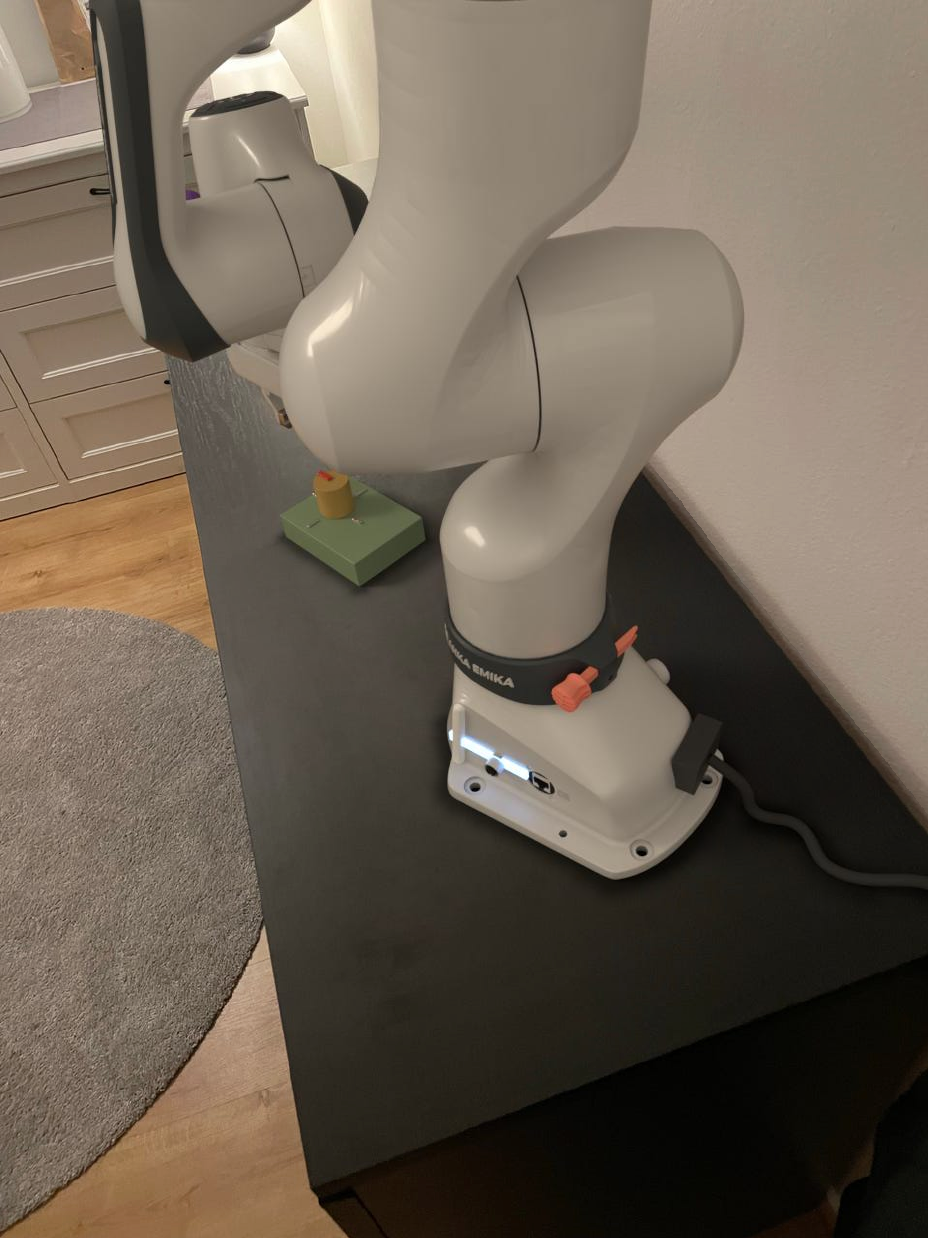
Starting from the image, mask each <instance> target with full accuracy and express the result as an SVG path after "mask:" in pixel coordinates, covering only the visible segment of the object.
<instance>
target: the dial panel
mask: <svg viewBox="0 0 928 1238" xmlns="http://www.w3.org/2000/svg"><path fill="white" fill-rule="evenodd" d="M348 478H349V482H350V486H351V491H352V495H353V500H354V504H355V507H354V509H353V511H352V512H351V513H350V514H349V515H347V516H345V517H342V518H339V519H329V518H326V517H324V516H322V515H321V513H320V510H319V506H318V502H317V499H316V495H315V491H313V493H311V495H309V496H307V497H306V498H304V499H303V500H301V501H300V502H298V503H297V504H295V505H293V506H292V507H290V508H288V509H287V510H286V511H284V512H282V513H280V514H279V517H280V522H281V524H282V528H283V530H284V535H285V537H286V538H287V539H288V540H290V541H292V542H293V543H294V544H295V545H297V546H299V547H300V548H302V549H303V550H305V551H307V552H308V553H309V554H310V555H312V556H314V558H316V559H318V560H320V562H323V563H324V564H326V565H327V566H329V567H330V568H331V569H333V570H334V571H336V572H337V573H339V574H340V575H342V576H343V577H344V578H346V579H347V580H349V581H351V582H352V583H353V584H355V585H356V586H357V587H361V586H363V585H364V584H366V583H367V582H368V581H370V580H371V579H372V578H374V577H376V576H377V575H379V574H380V573H382V572H383V571H384V570H386V569H387V568H388V567H390V566H391V565H392V564H394V563H395V562H397V561H398V560H400V559H402V557H404V556H405V555H407V554H408V553H409V552H411V551H412V550H413V549H415V548H416V547H418V546H420V544H422V543H423V542H425V541H426V540H427V539H426V534H425V527H424V519H423V517H422V516H420V515H419V514H417V513H415V512H414V511H412V510H410V509H408V508H407V507H405V506H403V505H402V504H400V503H398V502H396V501H394V500H393V499H391V498H389V497H388V496H386V495H384V494H382V493H380V492H379V491H378V490H376V489H374V488H372V487H370V486H368V485H367V484H365V483H363V482H362V481H360V480H358V479H356V478H355V477H353V476H352V475H348Z"/></svg>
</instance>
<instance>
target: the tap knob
mask: <svg viewBox="0 0 928 1238" xmlns="http://www.w3.org/2000/svg"><path fill="white" fill-rule="evenodd" d="M316 474H317V475H316V476H315V477H314V478H313V480H312V487H313V490H314V491H313V492H315V495H316V499H317V502H318V506H319V510H320V513H321V515H322V516H324V517H326V518H329V519H339V518H342V517H345V516H347V515H349V514H350V513H351V512H352V511H353V509H354V507H355V504H354V500H353V495H352V491H351V486H350V482H349V478H348V475H341V474H339V473H337V472H336V471H334V470H332V469H328V470H325V471H323V470H319V471H318V472H316Z"/></svg>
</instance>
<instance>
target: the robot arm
mask: <svg viewBox="0 0 928 1238" xmlns="http://www.w3.org/2000/svg"><path fill="white" fill-rule="evenodd" d="M312 1H313V0H88V14H89V15H88V16H89V27H90V36H91V48H92V56H93V57H92V58H93V68H94V77H95V85H96V91H97V94H96V95H97V101H98V109H99V117H100V118H99V119H100V125H101V134H102V140H103V141H102V142H103V149H104V157H105V164H106V165H105V166H106V173H107V181H108V186H109V187H108V190H109V197H110V206H111V207H110V208H111V238H112V250H113V254H112V256H113V257H112V259H113V260H112V264H113V276H114V282H115V287H116V291H117V294H118V297H119V300H120V303H121V305H122V307H123V311H124V312H125V314H126V317H127V319H128V320H129V322H130V324H131V326H132V327H133V328H134V330H135V331H136V333H137V334H138V335H139V336H140V338H141V340H142V341H143V343H145V344H146V345H148V346H149V347H152V348H154V349H156V350H157V351H159V352H162V353H164V354H165V355H166V354H167V355H169V356H171V357H173V358H176V359H180V360H182V361H186V362H189V363H196V362H199V361H201V360H203V359H205V358H207V357H210V356H212V355H215V354H217V353H220V352H222V351H224V350H225V351H226V355H227V358H228V361H229V364H230V366H231V367H232V369H233V370H234V372H235V373H236V374H237V375H238V376H239V377H242V378H244V379H245V380H246V381H249V382H250V383H253V384H254V385H256V386H258V387H259V388H260V391H261V394H262V395H263V396H264V398H265V400H266V401H267V402H268V404H269V406H270V407H271V409H272V410H273V412H274V415H275V419H276V422H277V424H278V425H280V426H282V427H284V428H286V429H288V430H290V429H292V428H293V430H294V432H295V433H296V435H297V436H298V438H299V439H300V441H301V442H302V443H303V445H304V446H305V447H306V448H307V450H309V452H310V453H311V454H312V455H314V456H315V458H317V460H319V462H321V463H322V464H324V465H325V466H326V467H328V468H329V469H330V470H334V471H336V472H337V473H339V474H341V475H349V476H398V475H399V476H401V475H402V476H403V475H405V476H406V475H424V474H429V473H433V472H438V471H443V470H448V469H453V468H457V467H462V466H468V465H471V464H472V465H473V464H477V463H482V462H485V463H483V464H482V465H481V466H480V467H478V468H477V469H476V470H475V471H474V472H472V473H471V474H470V475H469V476H468V477H467V478H465V479H464V481H463V482H462V483H461V484H460V485H459V486H458V487H457V489H456V490H455V492H454V493H453V494H452V497H451V499H450V500H449V502H448V505H447V507H446V509H445V511H444V514H443V517H442V521H441V525H440V528H439V529H440V530H439V543H440V550H441V557H442V563H443V570H444V577H445V585H446V592H447V594H446V599H445V602H444V620H445V622H444V632H445V638H446V640H447V641H446V642H447V644H448V649H449V653H450V656H451V658H452V660H453V663H454V669H453V680H452V681H453V683H452V699H451V701H452V702H451V706H450V709H449V712H448V716H447V723H446V735H447V741H448V745H449V749H450V754H451V760H450V763H449V767H448V773H447V790H448V793H449V795H450V796H451V797H452V798H454V799H455V800H457V801H459V802H461V803H463V804H465V805H466V806H469V807H471V808H472V809H474V810H476V811H478V812H480V813H482V814H484V815H486V816H487V817H490V818H491V819H493V820H495V821H497V822H499V823H501V824H503V825H504V826H507V827H509V828H511V829H512V830H515V831H516V832H519V833H520V834H522V835H524V836H526V837H528V838H530V839H532V840H533V841H535V842H537V843H540V844H542V845H544V846H545V847H547V848H549V849H551V850H553V851H555V852H556V853H559V854H561V855H562V856H564V857H566V858H569V859H570V860H572V861H574V862H576V863H578V864H580V865H582V866H583V867H586V868H587V869H590V870H591V871H593V872H594V873H598V874H599V875H601V876H603V877H606V878H608V879H610V880H621V879H626V878H630V877H632V876H636V875H639V874H641V873H643V872H645V871H647V870H649V869H651V868H653V867H654V866H657V865H658V864H659V863H661V862H662V861H664V860H665V859H667V858H668V857H669V856H670V855H672V854H673V853H674V852H675V851H676V850H678V848H680V847H681V846H682V845H683V844H684V843H685V841H686V840H688V839H689V837H690V836H691V835H692V834H693V833H694V831H696V830H697V829H698V827H699V826H700V825H701V823H702V822H703V821H704V820H705V818H706V817H707V815H708V814H709V812H710V810H712V807H713V806H714V804H715V802H716V800H717V798H718V796H719V793H720V790H721V787H722V783H723V779H724V778H726V779H727V780H728V781H729V782H730V783H732V785H734V786H735V788H736V789H737V790H738V791H739V792H740V795H741V798H742V799H741V800H742V804H743V807H744V810H745V811H746V813H747V814H748V815H749V816H750V817H751V818H753V819H754V820H757V821H758V822H762V823H765V824H769V825H777V826H783V827H787V828H789V829H791V830H794V831H795V832H796V833H798V835H799V836H800V837H801V839H802V840H803V842H804V843H805V846H806V848H807V850H808V852H809V854H810V855H811V857H812V859H813V861H814V862H815V863H816V865H817V866H818V867H819V868H820V869H821V870H822V871H824V872H825V873H827V874H828V875H830V876H832V877H834V878H836V879H838V880H841V881H843V882H846V883H849V884H853V885H854V884H855V885H859V886H867V887H903V888H904V887H905V888H918V889H922V890H926V891H928V876H926V875H921V874H914V873H873V872H872V873H870V872H860V871H856V870H852V869H848V868H846V867H842V866H841V865H839V864H836V863H835V862H833V861H832V860H830V858H829V857H827V856H826V854H825V853H824V850H823V849H822V847H821V845H820V843H819V841H818V839H817V837H816V835H815V833H814V832H813V831H812V830H811V828H810V827H809V826H808V825H807V824H806V823H805V822H803V821H802V820H801V819H799V818H798V817H795V816H793V815H789V814H787V813H786V814H785V813H780V812H773V811H768V810H764V809H762V808H760V806H758V805H757V803H756V800H755V793H754V791H753V788H752V785H751V784H750V783H749V782H748V781H747V779H746V778H745V777H744V776H743V775H742V774H741V773H739V772H738V770H736V769H735V768H733V767H732V766H731V765H729V764H728V763H727V762H726V761H724V756H723V753H722V752H721V751H720V750H719V745H720V739H721V735H722V729H723V721H721V720H718V719H716V718H713V717H710V716H707V715H705V714H702V713H700V712H698V713H697V714H696V716H695V718H694V720H693V719H692V716H691V714H690V712H689V710H688V708H687V707H686V706H685V705H684V703H683V702H682V701H681V699H679V698H678V697H677V695H676V694H675V693H674V692H673V691H672V690H671V689H670V687H669V686H668V684H669V682H670V679H671V676H670V672H669V670H668V669H667V666H666V665H665V664H664V663H663V661H660V660H659V659H657V658H650V659H648V660H645V659H644V658H643V657H642V655H641V654H640V653H639V652H638V651H637V650H636V649H635V648H634V647H633V646H632V645H633V643H634V642H635V641H636V639H637V637H638V633H636V632H637V631H638V629H639V627H638V625H634V626H632V627H631V628H630V629H629V630H628V631H627V632H626V633H625V634H624V630H623V628H622V624H621V621H620V619H619V616H618V613H617V610H616V607H615V604H614V602H613V601H614V600H613V599H612V595H611V593H610V592H609V589H608V587H607V581H608V580H607V578H608V565H609V555H610V548H611V540H612V534H613V529H614V525H615V521H616V519H617V515H618V514H619V510H620V507H621V506H622V504H623V502H624V500H625V498H626V496H627V494H628V492H629V490H630V489H631V487H632V485H633V484H634V482H635V481H636V479H637V478H638V476H639V475H640V473H641V471H642V470H643V468H644V467H645V466H646V465H647V463H648V462H649V460H650V459H651V458H652V456H653V455H654V454H655V452H657V450H658V449H659V448H660V446H662V444H663V443H664V442H665V441H666V439H667V438H669V436H670V435H671V434H672V433H673V432H674V431H676V430H677V429H678V428H679V427H680V426H681V425H682V424H683V423H684V422H685V421H686V420H688V418H690V417H691V416H693V414H694V413H696V412H697V411H698V410H700V409H702V408H703V407H704V406H705V405H707V404H708V403H709V402H711V401H712V400H713V399H715V398H716V397H717V396H718V395H719V394H720V393H721V391H722V390H723V388H724V387H725V385H726V384H727V382H728V381H729V379H730V377H731V375H732V373H733V371H734V369H735V367H736V365H737V362H738V359H739V356H740V352H741V349H742V345H743V341H744V340H743V339H744V334H745V305H744V299H743V295H742V290H741V287H740V284H739V280H738V278H737V275H736V273H735V271H734V269H733V267H732V265H731V263H730V262H729V260H728V258H727V257H726V256H725V254H724V253H723V252H722V251H721V249H720V248H719V246H717V244H715V242H714V241H713V240H711V239H710V238H709V237H708V236H707V235H706V234H704V233H703V232H701V231H700V230H698V229H694V228H681V227H679V228H678V227H665V226H664V227H661V226H625V225H624V226H619V225H618V226H617V225H614V226H607V227H603V228H602V227H601V228H597V229H593V230H587V231H582V232H576V233H570V234H566V235H559V236H555V237H550V236H552V235H553V234H554V233H555V232H556V231H558V230H559V229H560V228H562V227H563V226H564V225H565V224H567V223H568V222H569V221H571V220H572V219H573V218H575V217H576V216H577V215H579V214H580V213H581V212H582V211H584V210H585V209H586V208H587V207H588V206H590V205H591V204H592V203H593V202H594V201H595V200H596V199H597V198H598V197H599V196H600V195H602V193H604V192H605V191H606V189H607V188H608V186H609V185H610V184H611V183H612V182H613V180H614V179H615V177H616V176H617V174H618V173H619V172H620V170H621V169H622V166H623V164H624V162H625V161H626V158H627V156H628V154H629V152H630V150H631V147H632V145H633V142H634V140H635V138H636V135H637V132H638V129H639V123H640V117H641V110H642V109H641V108H642V98H643V90H644V89H643V88H644V81H645V72H646V65H647V64H646V62H647V55H648V45H649V36H650V27H651V17H652V9H653V0H370V7H371V17H372V27H373V28H372V29H373V39H374V50H375V52H374V53H375V63H376V65H375V66H376V82H377V99H378V101H377V104H378V129H379V131H378V133H379V135H378V136H379V137H378V143H379V144H378V154H377V155H378V158H377V164H376V165H377V166H376V171H375V176H374V181H373V185H372V188H371V193H370V197H369V198H368V196H367V194H366V193H365V191H364V190H363V189H362V188H361V186H359V185H357V184H356V183H355V182H353V181H352V180H350V179H348V178H347V177H346V176H343V175H342V174H340V173H338V172H337V171H335V170H333V169H331V168H330V167H327V166H325V165H323V164H319V163H318V161H317V160H316V159H315V157H314V156H313V154H312V153H311V151H310V150H309V148H308V146H307V144H306V143H305V140H304V137H303V134H302V131H301V128H300V125H299V122H298V120H297V116H296V113H295V111H294V108H293V104H292V103H291V101H290V100H289V98H288V97H287V96H286V95H284V94H282V93H279V92H277V91H275V90H256V91H253V92H248V93H245V92H244V93H240V94H237V95H231V96H227V97H224V98H221V99H216V100H215V99H214V100H212V101H211V102H206V103H204V104H202V105H200V106H199V107H197V108H196V109H194V112H192V113H191V114H190V116H189V117H188V122H187V123H188V135H189V136H188V137H189V143H190V149H191V155H192V156H191V157H192V162H193V167H194V168H193V169H194V173H195V178H196V183H197V189H198V193H199V194H200V197H201V198H197V199H193V200H186V196H185V190H186V177H185V176H186V175H185V158H184V157H185V154H184V137H183V136H184V135H183V134H184V133H183V127H184V126H183V125H184V118H185V114H186V112H187V109H188V106H189V104H190V102H191V100H192V99H193V97H194V96H195V94H196V93H197V92H198V90H199V89H200V87H201V86H202V85H203V84H204V83H205V82H206V81H207V79H208V78H209V77H210V76H212V75H213V74H214V73H215V72H216V71H217V70H219V68H220V67H221V66H223V64H225V63H226V62H227V61H229V60H230V59H231V58H232V57H233V56H234V55H236V54H237V53H238V52H239V51H241V50H242V49H244V48H245V47H246V46H248V45H249V44H250V43H251V44H252V42H254V41H255V40H257V39H258V38H260V37H261V36H263V35H264V34H267V32H270V31H271V30H273V29H274V28H275V27H277V26H279V25H280V24H282V23H283V22H285V21H288V19H290V18H292V17H293V16H295V15H296V14H298V13H299V12H301V11H302V10H303V9H305V8H306V7H307V6H308V5H309V4H310V3H311V2H312ZM703 781H707V782H709V783H708V784H706V783H704V782H703ZM473 789H479V790H477V791H472V790H473ZM638 852H644V853H645V854H646V855H643V856H641V855H639V854H638Z"/></svg>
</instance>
